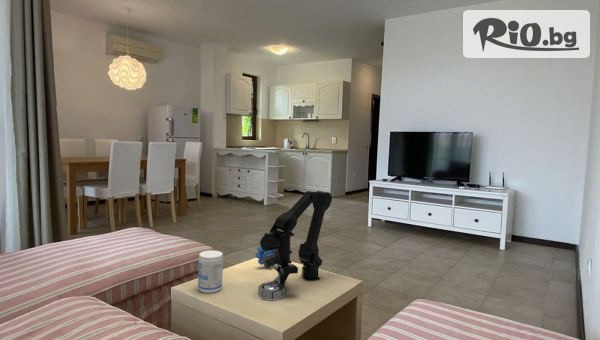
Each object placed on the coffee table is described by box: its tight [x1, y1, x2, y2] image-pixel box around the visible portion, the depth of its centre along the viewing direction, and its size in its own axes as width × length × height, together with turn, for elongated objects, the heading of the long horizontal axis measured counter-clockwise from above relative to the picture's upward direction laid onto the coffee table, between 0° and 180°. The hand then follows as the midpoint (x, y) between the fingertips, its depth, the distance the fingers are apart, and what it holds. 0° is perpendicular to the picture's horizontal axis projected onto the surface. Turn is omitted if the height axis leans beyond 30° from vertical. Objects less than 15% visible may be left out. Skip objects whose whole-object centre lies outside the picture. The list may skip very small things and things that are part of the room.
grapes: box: [255, 245, 276, 268], centre depth 177 cm, size 12×7×12 cm, turn 114°
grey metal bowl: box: [258, 283, 285, 302], centre depth 147 cm, size 10×10×4 cm
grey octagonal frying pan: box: [257, 275, 286, 299], centre depth 151 cm, size 18×10×3 cm, turn 165°
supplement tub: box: [197, 250, 224, 294], centre depth 151 cm, size 10×10×15 cm
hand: (282, 285), depth 153 cm, fingers closed
